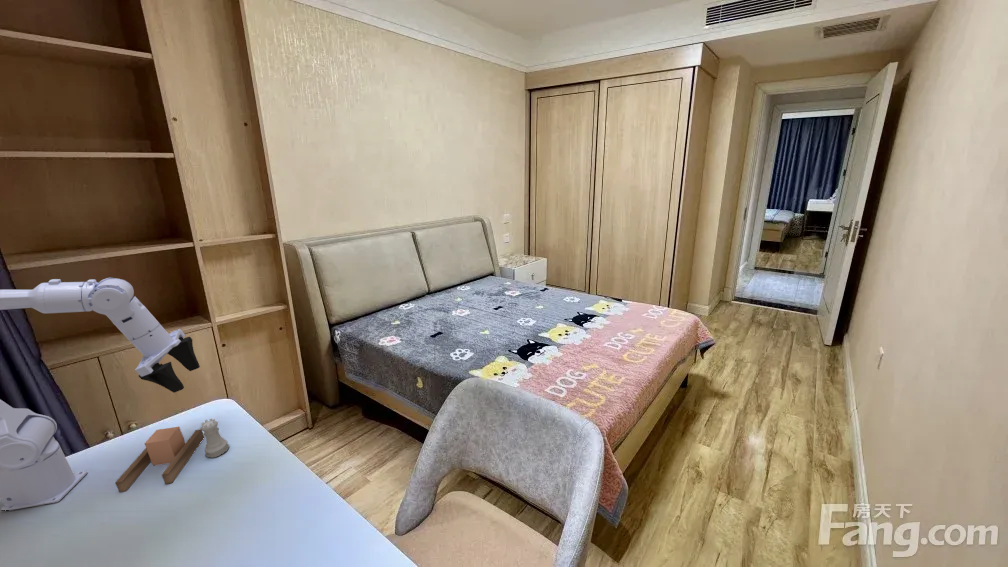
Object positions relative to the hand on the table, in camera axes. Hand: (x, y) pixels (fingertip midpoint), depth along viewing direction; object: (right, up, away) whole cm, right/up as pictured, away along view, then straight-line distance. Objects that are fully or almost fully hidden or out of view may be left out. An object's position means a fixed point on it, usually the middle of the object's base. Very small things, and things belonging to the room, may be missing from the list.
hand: (187, 379), depth 90 cm
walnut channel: (-4, -18, -1) cm, 18 cm away
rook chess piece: (+6, -17, +1) cm, 18 cm away
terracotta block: (-4, -18, 0) cm, 18 cm away
